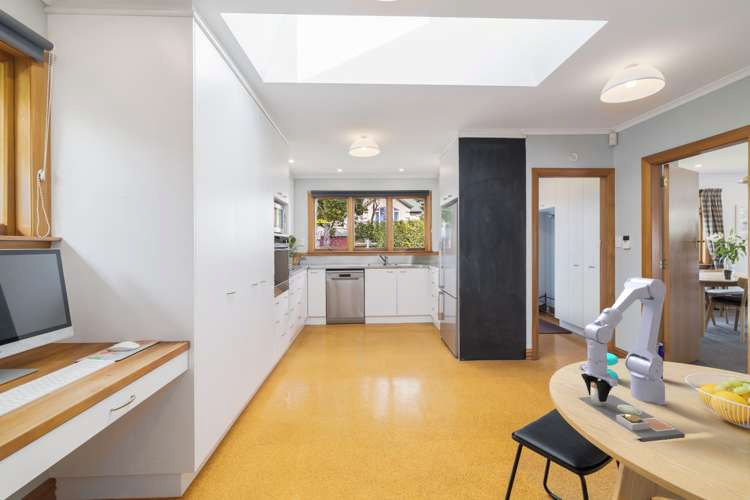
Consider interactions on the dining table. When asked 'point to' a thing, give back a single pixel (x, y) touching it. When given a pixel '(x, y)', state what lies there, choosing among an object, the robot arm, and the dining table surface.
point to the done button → (632, 417)
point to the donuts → (612, 361)
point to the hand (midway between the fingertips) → (597, 398)
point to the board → (645, 429)
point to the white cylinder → (595, 395)
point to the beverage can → (659, 352)
